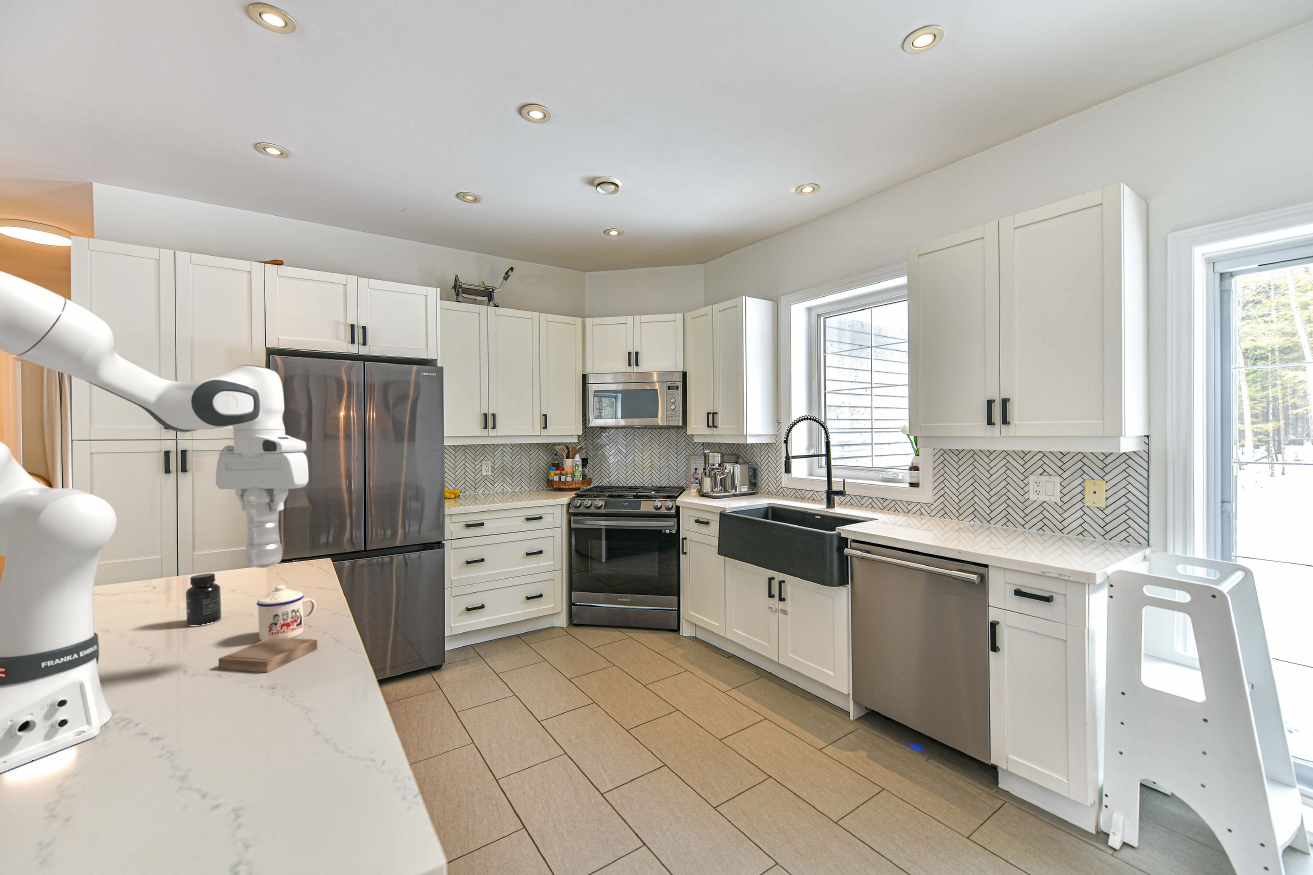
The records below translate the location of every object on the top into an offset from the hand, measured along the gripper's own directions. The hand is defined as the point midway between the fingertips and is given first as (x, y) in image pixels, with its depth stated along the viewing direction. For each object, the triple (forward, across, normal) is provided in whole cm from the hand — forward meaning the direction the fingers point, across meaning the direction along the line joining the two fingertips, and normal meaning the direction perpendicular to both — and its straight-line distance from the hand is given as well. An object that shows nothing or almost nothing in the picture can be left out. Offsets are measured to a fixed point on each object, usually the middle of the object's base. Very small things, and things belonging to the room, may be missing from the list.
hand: (262, 510), depth 117 cm
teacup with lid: (+31, -8, +13) cm, 35 cm away
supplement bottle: (+31, -38, +17) cm, 52 cm away
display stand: (+31, 0, 0) cm, 31 cm away
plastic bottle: (+12, 0, 0) cm, 12 cm away
